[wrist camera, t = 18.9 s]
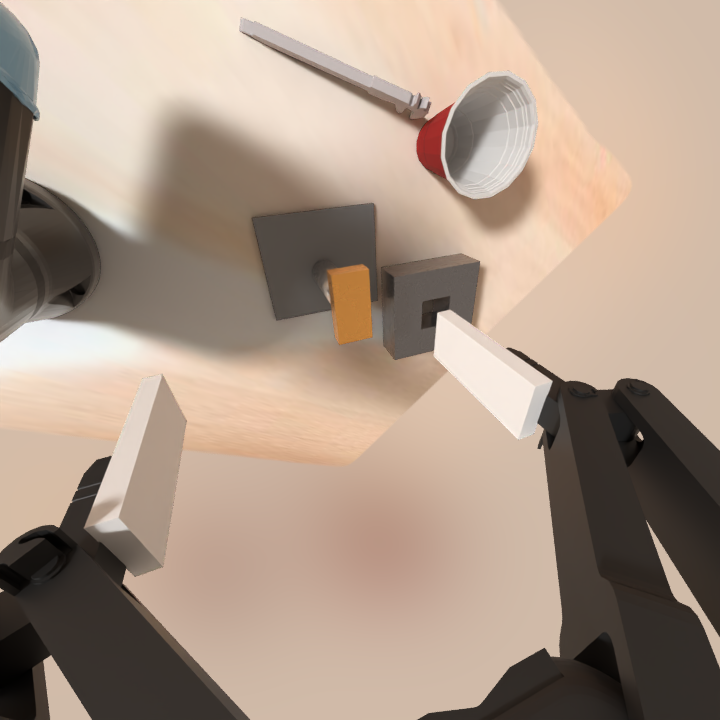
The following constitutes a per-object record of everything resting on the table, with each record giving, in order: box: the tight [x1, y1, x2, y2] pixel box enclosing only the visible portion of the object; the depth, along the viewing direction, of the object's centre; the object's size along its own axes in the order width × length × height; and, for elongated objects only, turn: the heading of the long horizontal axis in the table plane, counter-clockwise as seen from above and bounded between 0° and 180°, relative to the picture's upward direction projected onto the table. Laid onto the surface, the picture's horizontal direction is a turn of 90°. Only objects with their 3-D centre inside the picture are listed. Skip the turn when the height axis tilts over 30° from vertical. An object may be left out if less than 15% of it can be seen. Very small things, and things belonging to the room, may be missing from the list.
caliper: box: [239, 17, 431, 119], centre depth 33 cm, size 20×1×6 cm, turn 73°
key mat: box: [252, 203, 378, 320], centre depth 45 cm, size 16×14×1 cm
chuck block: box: [381, 254, 480, 360], centre depth 52 cm, size 14×14×5 cm
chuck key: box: [312, 259, 372, 345], centre depth 39 cm, size 8×4×14 cm, turn 5°
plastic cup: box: [417, 71, 538, 199], centre depth 37 cm, size 11×11×12 cm
